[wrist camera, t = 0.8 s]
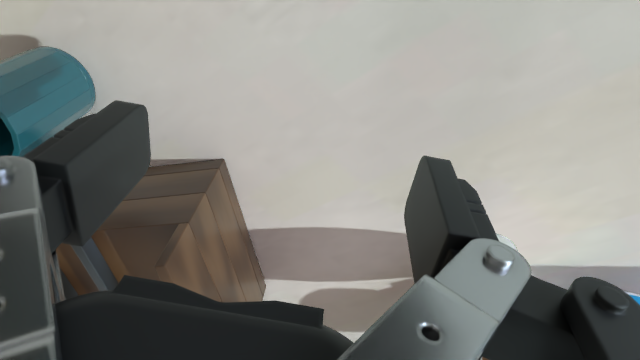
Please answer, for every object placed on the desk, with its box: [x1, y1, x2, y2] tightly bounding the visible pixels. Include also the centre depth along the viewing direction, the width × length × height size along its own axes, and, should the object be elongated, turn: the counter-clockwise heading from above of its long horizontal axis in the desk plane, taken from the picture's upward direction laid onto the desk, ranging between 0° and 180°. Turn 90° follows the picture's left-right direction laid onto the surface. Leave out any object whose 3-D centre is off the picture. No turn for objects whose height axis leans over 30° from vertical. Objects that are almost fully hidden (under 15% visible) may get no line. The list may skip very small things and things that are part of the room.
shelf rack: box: [56, 159, 266, 303], centre depth 34 cm, size 15×24×12 cm, turn 99°
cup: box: [0, 47, 95, 157], centre depth 28 cm, size 6×6×8 cm
